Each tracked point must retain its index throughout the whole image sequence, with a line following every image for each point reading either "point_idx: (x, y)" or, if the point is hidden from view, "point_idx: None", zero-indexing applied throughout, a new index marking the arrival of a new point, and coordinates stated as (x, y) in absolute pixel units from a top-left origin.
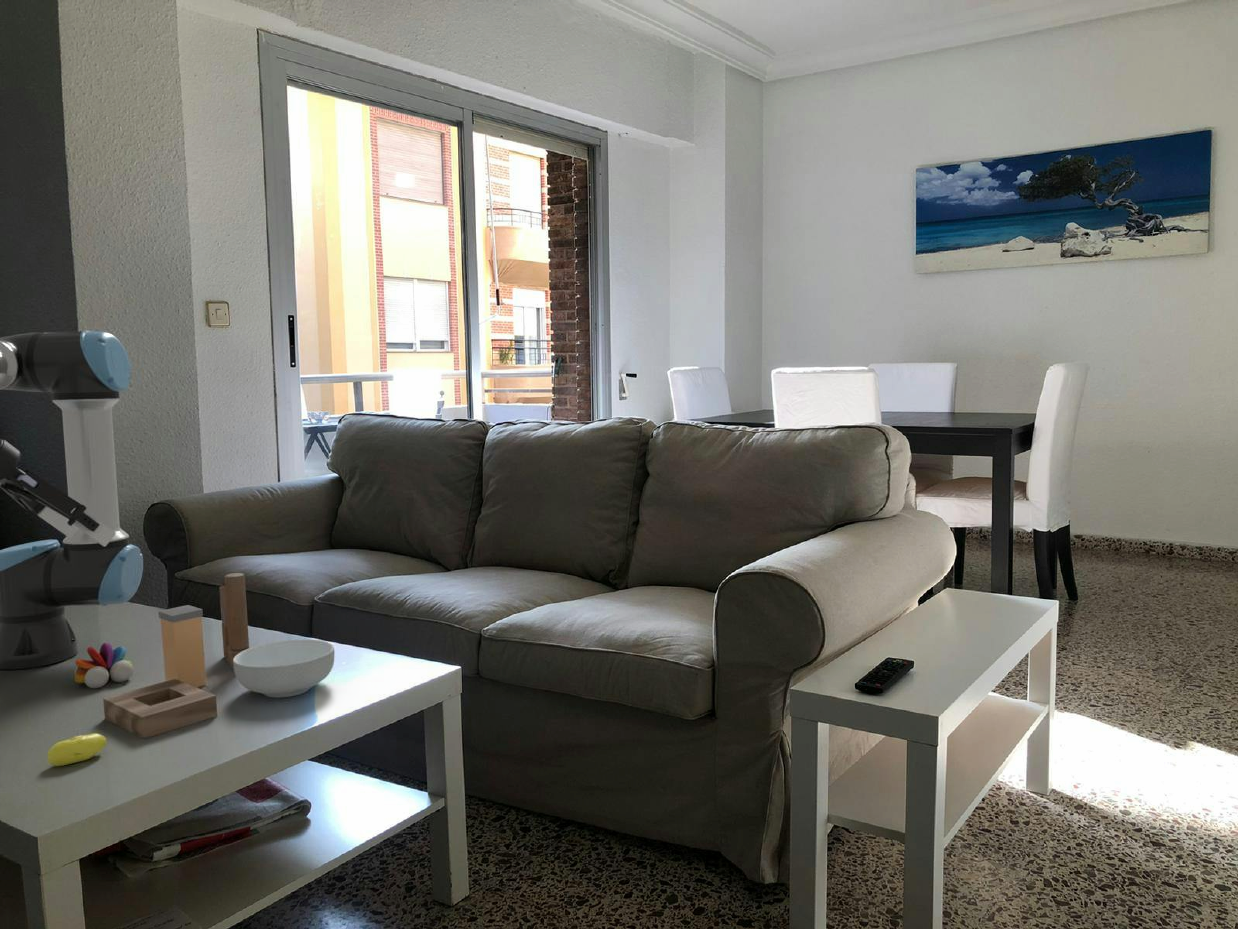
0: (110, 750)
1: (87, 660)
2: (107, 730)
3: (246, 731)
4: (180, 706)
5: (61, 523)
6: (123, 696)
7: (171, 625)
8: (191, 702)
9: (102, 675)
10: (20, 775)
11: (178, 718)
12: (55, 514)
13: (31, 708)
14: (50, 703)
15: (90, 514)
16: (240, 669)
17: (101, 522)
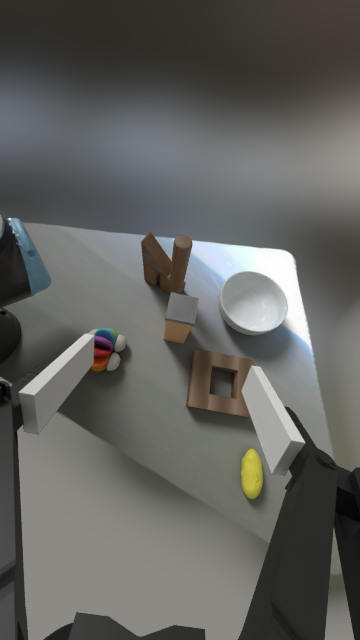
0: (248, 443)
1: None
2: (209, 419)
3: (288, 373)
4: None
5: (75, 374)
6: (198, 394)
7: (187, 325)
8: None
9: (119, 360)
10: (240, 516)
11: None
12: (59, 384)
13: (105, 420)
14: (110, 405)
15: (292, 422)
16: (252, 332)
17: (276, 394)
